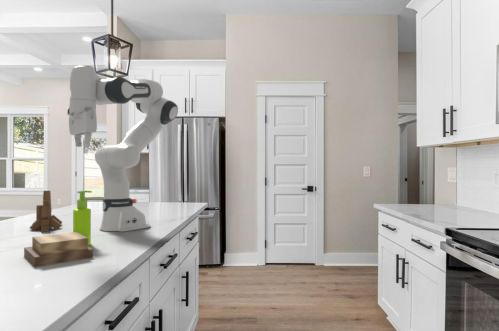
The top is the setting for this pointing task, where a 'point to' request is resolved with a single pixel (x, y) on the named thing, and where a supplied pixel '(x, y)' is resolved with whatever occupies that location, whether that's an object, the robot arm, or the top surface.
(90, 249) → the walnut base slab
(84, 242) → the oak top slab
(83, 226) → the soap dispenser
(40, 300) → the top surface
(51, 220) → the wooden blocks
